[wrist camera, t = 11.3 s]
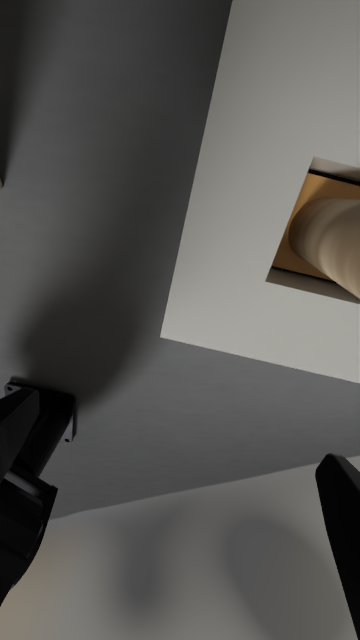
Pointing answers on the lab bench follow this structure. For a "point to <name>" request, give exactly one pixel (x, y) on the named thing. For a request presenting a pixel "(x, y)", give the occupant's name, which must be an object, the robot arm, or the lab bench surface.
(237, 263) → the socket block
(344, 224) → the wooden peg
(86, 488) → the lab bench surface
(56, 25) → the lab bench surface
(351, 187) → the plunger plate
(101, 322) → the lab bench surface
